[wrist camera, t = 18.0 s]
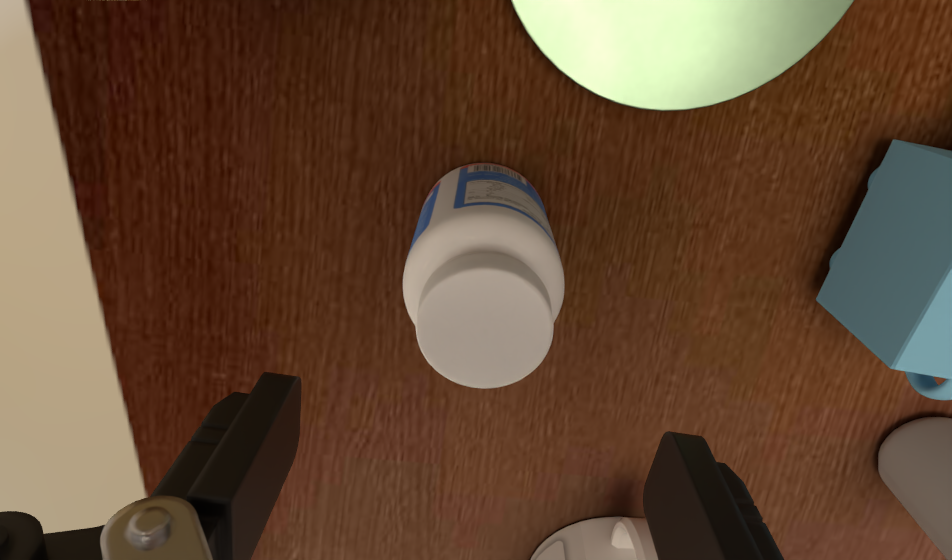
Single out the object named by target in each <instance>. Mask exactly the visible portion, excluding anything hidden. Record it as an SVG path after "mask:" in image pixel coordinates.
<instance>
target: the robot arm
mask: <svg viewBox="0 0 952 560" xmlns="http://www.w3.org/2000/svg"><path fill="white" fill-rule="evenodd" d="M300 409H301V378H300V377H297V376H290V375H283V374H276V373H269V372H264V373H263V374H262V376H261V377H260V379H259V380H258V382H257V383H256V385H255V387H254V388H253V390H252V391H251V393H250V394H246V393H239V392H233V393H232V394H230V395H229V396H227V397H226V398H224V399H223V400H221V401H220V402H218V403H217V404H215V405H214V406H213V408H212V409H211V410H210V412H209V413H208V415H207V416H206V418H205V419H204V420H203V422H202V425H201V427H199V428H198V429H197V430H196V432H195V433H194V435H193V436H192V439H191V441H189V442H188V443H187V445H186V446H185V448H184V449H183V450H182V452H181V453H180V455H179V456H178V458H177V459H176V460H175V462H174V463H173V465H172V466H171V468H170V469H169V470H168V472H167V473H166V475H165V476H164V478H163V479H162V480H161V482H160V483H159V485H158V486H157V488H156V489H155V490H154V492H153V493H152V495H151V496H150V497H148V498H144V499H141V500H138V501H135V502H134V503H131V504H129V505H127V506H126V507H124V508H123V509H121V510H119V511H118V512H117V513H116V514H114V516H112V518H111V519H110V520H109V521H108V522H107V524H106V525H102V526H99V527H94V528H87V529H79V530H71V531H64V532H55V533H48V534H43V530H42V526H41V524H40V522H39V521H38V520H37V519H36V518H35V517H33V516H32V515H30V514H27V513H23V512H17V511H15V512H14V511H13V512H12V511H7V512H0V560H250V559H251V557H252V555H253V552H254V550H255V548H256V546H257V543H258V541H259V539H260V537H261V534H262V532H263V530H264V527H265V525H266V523H267V521H268V518H269V516H270V514H271V511H272V509H273V507H274V505H275V502H276V500H277V498H278V496H279V493H280V491H281V489H282V486H283V484H284V482H285V480H286V477H287V475H288V473H289V470H290V468H291V466H292V464H293V461H294V458H295V455H296V451H297V447H298V442H299V434H300ZM643 506H644V513H645V516H646V520H647V523H648V526H649V530H650V533H651V537H652V540H653V543H654V547H655V550H656V553H657V557H658V560H784V559H783V557H782V555H781V553H780V551H779V549H778V547H777V545H776V543H775V541H774V539H773V538H772V536H771V534H770V532H769V530H768V528H767V526H766V524H765V523H763V522H762V519H763V518H762V517H761V515H760V513H759V511H758V509H757V507H756V506H754V501H753V499H752V498H751V496H750V494H749V492H748V490H747V488H746V486H745V484H744V482H743V481H742V480H741V479H740V478H739V477H738V476H737V475H736V474H735V473H734V472H733V471H732V470H731V469H730V468H729V467H728V466H727V465H726V464H725V463H719V462H716V461H715V459H714V457H713V455H712V453H711V451H710V448H709V446H708V444H707V442H706V441H705V439H704V438H703V437H702V436H696V435H689V434H682V433H676V432H669V431H668V432H666V433H665V434H664V435H663V437H662V439H661V442H660V444H659V447H658V450H657V453H656V455H655V458H654V461H653V464H652V466H651V469H650V472H649V474H648V477H647V480H646V483H645V487H644V493H643Z"/></svg>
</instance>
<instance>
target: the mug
mask: <svg viewBox="0 0 952 560" xmlns="http://www.w3.org/2000/svg"><path fill="white" fill-rule="evenodd" d="M531 560H658V557H657V553H656V550H655V547H654V543H653V540H652V537H651V533H650V530H649V526H648V523H647V520H646V518H635V517H603V518H594V519H589V520H585V521H581V522H578V523H575V524H572V525H570V526H567V527H565V528H563V529H561V530H559V531H557V532H556V533H554V534H553V535H552V536H550V537H549V538H547V539H546V540H545V541H544V542H543V543H542V544H541V545H540V546H539V547H538V548H537V550H536V551H535V552H534V554H533V555H532V557H531Z"/></svg>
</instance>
